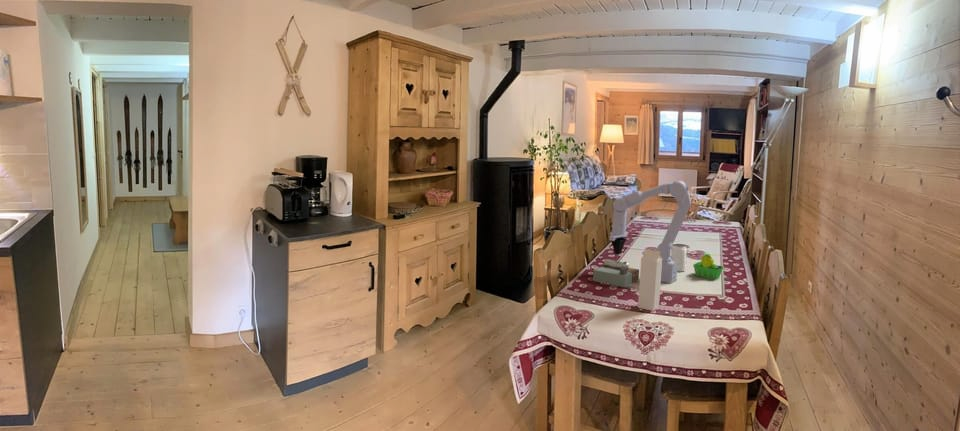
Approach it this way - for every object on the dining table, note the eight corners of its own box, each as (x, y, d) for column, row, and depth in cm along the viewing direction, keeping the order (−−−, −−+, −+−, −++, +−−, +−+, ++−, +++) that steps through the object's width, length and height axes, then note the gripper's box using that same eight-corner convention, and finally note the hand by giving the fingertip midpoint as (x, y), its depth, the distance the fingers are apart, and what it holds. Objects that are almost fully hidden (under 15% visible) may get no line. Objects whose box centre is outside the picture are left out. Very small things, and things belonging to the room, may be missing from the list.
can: (685, 272, 256) (687, 247, 254) (671, 271, 258) (673, 246, 255) (683, 268, 263) (685, 244, 260) (669, 267, 264) (671, 243, 262)
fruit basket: (723, 277, 249) (725, 253, 247) (716, 281, 243) (718, 256, 241) (698, 272, 257) (700, 248, 255) (690, 276, 251) (692, 251, 249)
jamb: (638, 280, 243) (639, 269, 242) (632, 283, 238) (633, 272, 237) (606, 274, 252) (607, 263, 251) (600, 277, 247) (600, 265, 246)
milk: (643, 303, 213) (647, 247, 209) (659, 307, 209) (663, 250, 206) (637, 307, 208) (641, 250, 204) (653, 311, 204) (657, 253, 201)
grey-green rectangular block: (631, 284, 237) (632, 267, 236) (625, 287, 232) (626, 270, 231) (599, 277, 246) (600, 261, 245) (592, 280, 241) (593, 264, 240)
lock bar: (629, 267, 242) (629, 261, 242) (626, 269, 240) (627, 263, 240) (606, 263, 249) (606, 257, 248) (603, 264, 247) (603, 258, 246)
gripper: (618, 220, 257) (616, 249, 259) (603, 225, 245) (602, 255, 248) (632, 222, 252) (630, 251, 255) (618, 227, 241) (616, 257, 244)
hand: (617, 253), depth 251 cm, fingers closed
